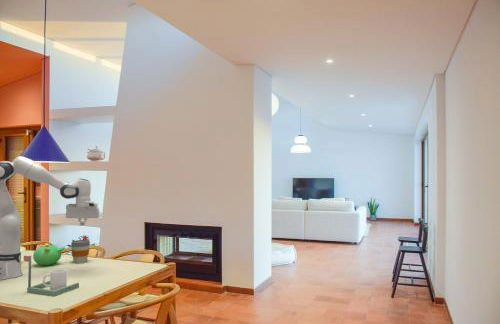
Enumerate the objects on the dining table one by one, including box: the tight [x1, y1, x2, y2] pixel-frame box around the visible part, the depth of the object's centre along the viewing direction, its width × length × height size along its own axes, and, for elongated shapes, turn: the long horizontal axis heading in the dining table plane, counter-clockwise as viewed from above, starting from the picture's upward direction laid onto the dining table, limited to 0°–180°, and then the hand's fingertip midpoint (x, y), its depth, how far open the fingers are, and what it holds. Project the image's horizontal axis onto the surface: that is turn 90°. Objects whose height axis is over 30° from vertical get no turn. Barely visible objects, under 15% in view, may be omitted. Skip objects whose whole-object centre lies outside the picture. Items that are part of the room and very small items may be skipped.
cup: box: [42, 268, 68, 290], centre depth 223 cm, size 8×12×10 cm
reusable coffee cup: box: [70, 239, 91, 265], centre depth 290 cm, size 12×13×15 cm
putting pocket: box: [23, 255, 80, 297], centre depth 223 cm, size 18×23×20 cm
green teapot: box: [32, 242, 67, 266], centre depth 281 cm, size 18×17×15 cm
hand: (82, 225), depth 261 cm, fingers closed
